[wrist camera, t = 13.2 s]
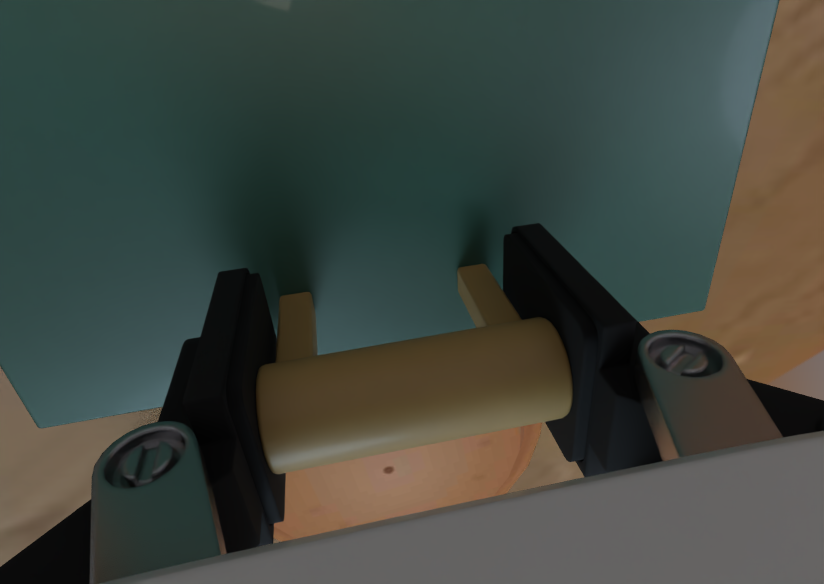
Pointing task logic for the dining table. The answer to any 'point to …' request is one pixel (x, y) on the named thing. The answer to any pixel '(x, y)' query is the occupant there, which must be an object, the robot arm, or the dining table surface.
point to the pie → (404, 481)
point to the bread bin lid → (354, 195)
